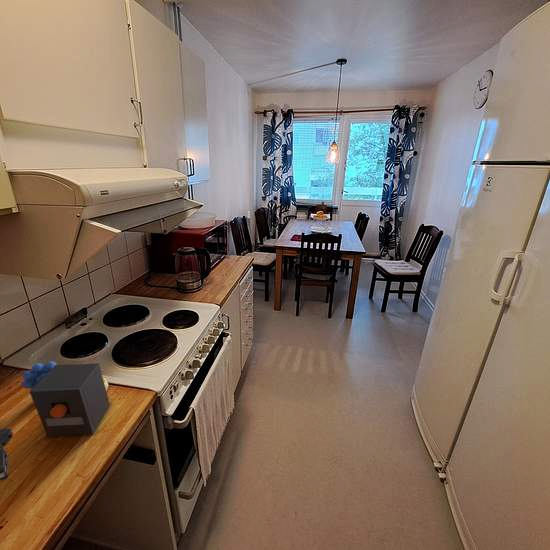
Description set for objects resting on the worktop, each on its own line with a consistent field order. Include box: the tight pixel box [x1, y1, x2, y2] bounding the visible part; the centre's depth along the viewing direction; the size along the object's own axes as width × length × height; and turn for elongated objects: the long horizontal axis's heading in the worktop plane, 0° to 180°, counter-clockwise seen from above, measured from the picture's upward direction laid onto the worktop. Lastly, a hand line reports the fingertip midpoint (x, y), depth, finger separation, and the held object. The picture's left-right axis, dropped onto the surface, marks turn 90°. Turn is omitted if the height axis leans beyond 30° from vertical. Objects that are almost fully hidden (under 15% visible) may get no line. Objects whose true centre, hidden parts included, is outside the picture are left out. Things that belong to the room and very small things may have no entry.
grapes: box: [21, 361, 58, 391], centre depth 90 cm, size 12×7×12 cm, turn 132°
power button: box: [50, 404, 67, 418], centre depth 74 cm, size 3×2×3 cm, turn 94°
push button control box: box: [29, 363, 111, 438], centre depth 80 cm, size 12×10×16 cm
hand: (7, 431), depth 59 cm, fingers closed
